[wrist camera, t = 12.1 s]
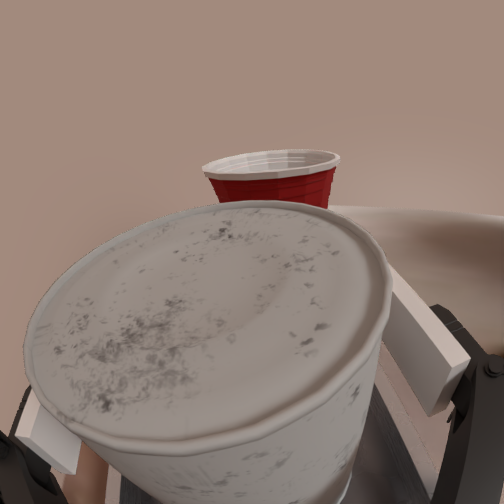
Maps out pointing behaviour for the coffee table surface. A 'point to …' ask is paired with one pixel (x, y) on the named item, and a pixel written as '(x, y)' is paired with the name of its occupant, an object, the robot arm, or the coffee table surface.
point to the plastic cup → (274, 176)
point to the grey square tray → (366, 462)
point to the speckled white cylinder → (219, 352)
